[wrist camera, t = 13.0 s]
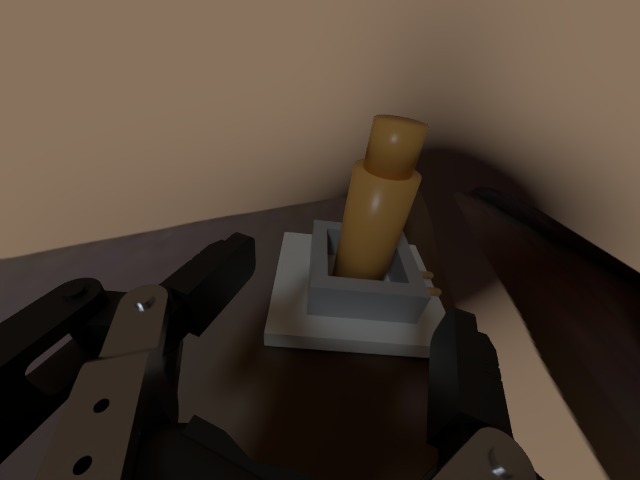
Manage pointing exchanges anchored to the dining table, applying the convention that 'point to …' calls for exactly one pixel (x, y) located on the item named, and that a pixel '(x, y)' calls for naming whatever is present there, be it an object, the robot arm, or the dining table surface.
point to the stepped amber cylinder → (379, 198)
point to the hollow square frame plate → (350, 300)
